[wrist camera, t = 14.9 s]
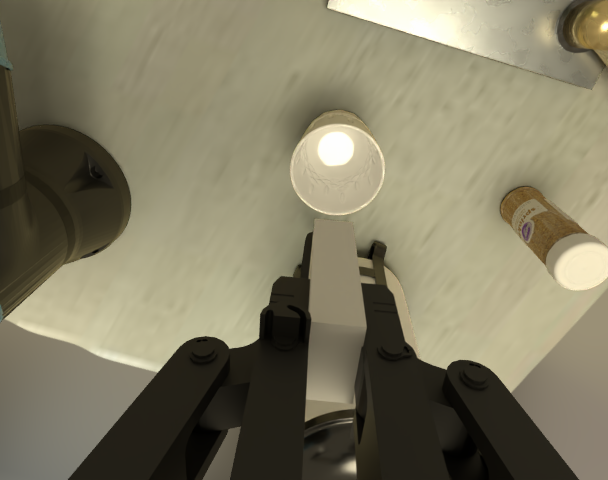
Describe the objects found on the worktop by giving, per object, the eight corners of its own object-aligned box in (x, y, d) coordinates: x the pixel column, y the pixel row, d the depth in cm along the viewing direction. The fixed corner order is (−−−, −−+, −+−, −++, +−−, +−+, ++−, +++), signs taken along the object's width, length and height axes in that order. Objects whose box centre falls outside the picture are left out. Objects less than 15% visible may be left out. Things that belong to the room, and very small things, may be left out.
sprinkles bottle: (498, 189, 46) (556, 248, 34) (544, 182, 45) (619, 238, 33) (499, 228, 48) (554, 296, 36) (543, 221, 47) (614, 288, 35)
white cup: (284, 145, 45) (270, 174, 36) (335, 86, 42) (334, 102, 34) (338, 193, 47) (339, 232, 38) (391, 140, 44) (405, 168, 35)
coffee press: (444, 264, 50) (568, 537, 24) (371, 355, 57) (401, 648, 30) (314, 195, 48) (285, 414, 21) (253, 299, 54) (172, 566, 28)
